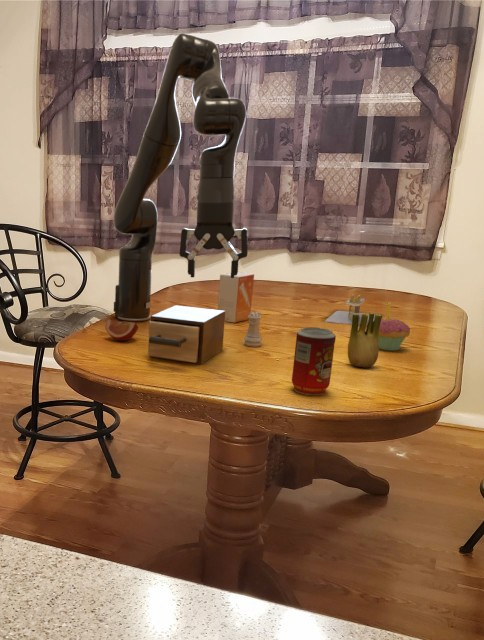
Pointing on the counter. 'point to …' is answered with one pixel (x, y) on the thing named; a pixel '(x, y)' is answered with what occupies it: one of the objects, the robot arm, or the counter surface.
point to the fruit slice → (121, 329)
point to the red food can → (313, 360)
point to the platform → (347, 316)
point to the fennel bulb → (364, 340)
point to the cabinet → (209, 327)
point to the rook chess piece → (253, 331)
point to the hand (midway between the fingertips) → (212, 277)
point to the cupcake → (392, 332)
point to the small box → (236, 296)
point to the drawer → (174, 340)
